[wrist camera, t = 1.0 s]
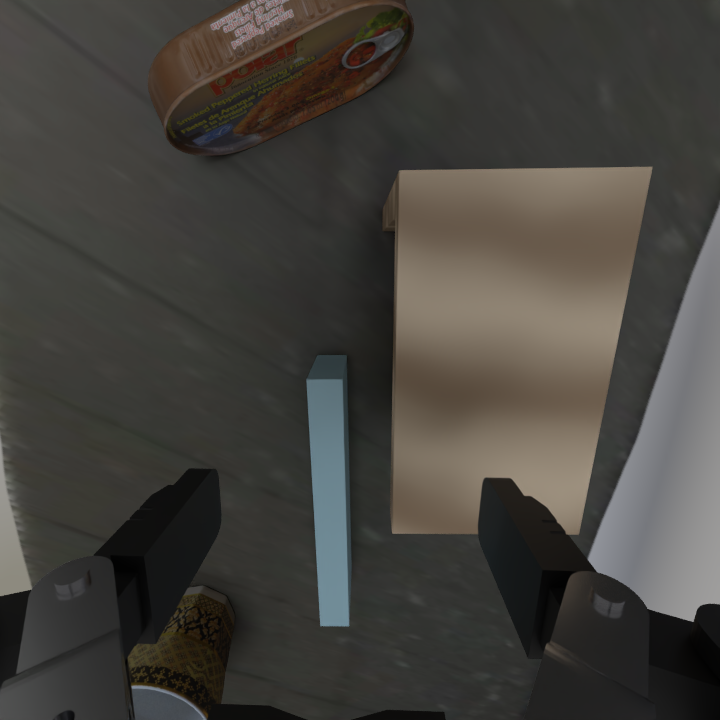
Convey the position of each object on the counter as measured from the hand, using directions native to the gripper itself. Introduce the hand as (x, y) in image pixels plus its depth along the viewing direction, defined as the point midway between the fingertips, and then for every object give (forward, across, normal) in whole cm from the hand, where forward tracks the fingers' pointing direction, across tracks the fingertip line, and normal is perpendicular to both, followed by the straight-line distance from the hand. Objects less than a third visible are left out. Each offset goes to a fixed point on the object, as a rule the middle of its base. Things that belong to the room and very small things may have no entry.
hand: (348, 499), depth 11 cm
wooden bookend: (+19, -6, -3) cm, 20 cm away
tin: (+18, +5, -18) cm, 26 cm away
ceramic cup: (+21, +15, +29) cm, 39 cm away
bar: (+20, +2, +11) cm, 23 cm away
